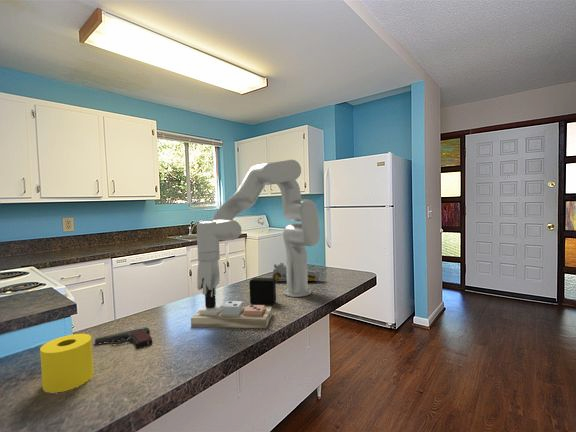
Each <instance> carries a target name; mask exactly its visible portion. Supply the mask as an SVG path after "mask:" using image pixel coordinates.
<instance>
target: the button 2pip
mask: <svg viewBox="0 0 576 432" xmlns="http://www.w3.org/2000/svg"><path fill="white" fill-rule="evenodd" d="M243 306H244V301H243V300H227V301H225V303H223V304H222V316H239V315H240V314H241V312H242V311H243Z"/></svg>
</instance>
